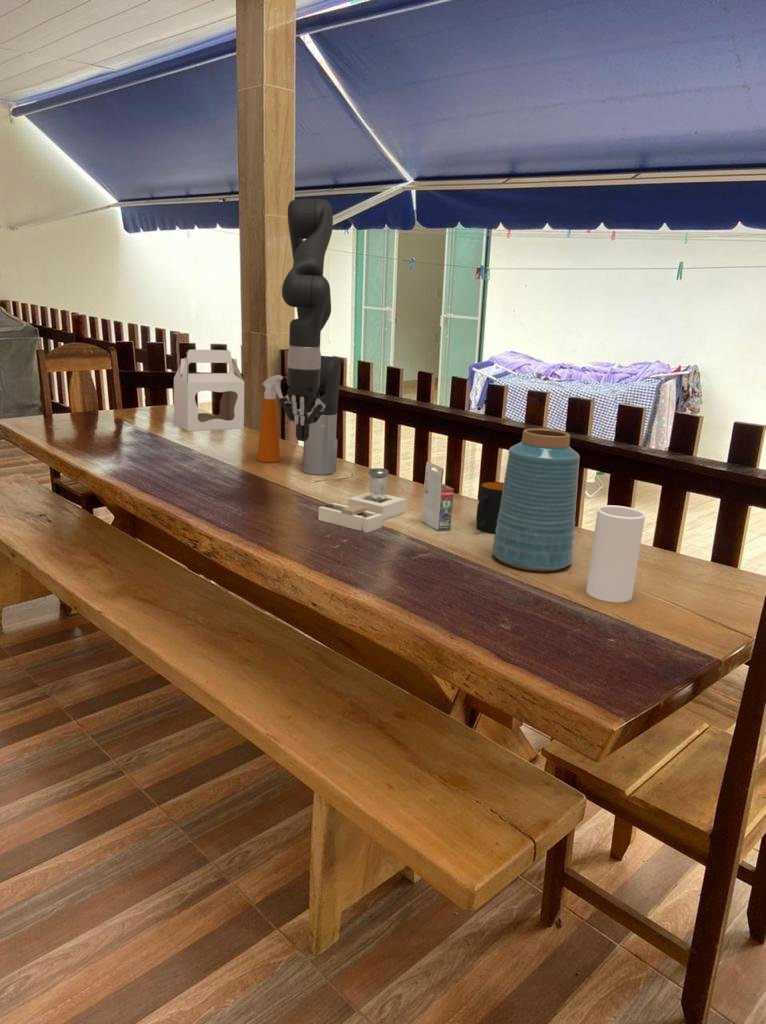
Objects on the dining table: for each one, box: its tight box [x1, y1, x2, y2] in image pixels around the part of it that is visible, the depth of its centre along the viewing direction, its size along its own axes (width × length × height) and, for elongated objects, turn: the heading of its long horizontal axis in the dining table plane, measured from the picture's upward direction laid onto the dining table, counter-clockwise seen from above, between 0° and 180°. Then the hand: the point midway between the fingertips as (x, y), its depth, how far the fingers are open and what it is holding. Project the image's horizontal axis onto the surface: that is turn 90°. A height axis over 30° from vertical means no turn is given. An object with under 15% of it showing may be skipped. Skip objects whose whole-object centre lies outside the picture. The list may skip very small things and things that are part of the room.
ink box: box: [421, 461, 455, 532], centre depth 179 cm, size 4×8×15 cm, turn 26°
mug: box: [475, 481, 504, 535], centre depth 178 cm, size 8×12×10 cm
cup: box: [585, 504, 646, 604], centre depth 142 cm, size 8×8×16 cm
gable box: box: [173, 349, 245, 432], centre depth 283 cm, size 22×13×28 cm, turn 125°
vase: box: [491, 428, 581, 573], centre depth 157 cm, size 16×16×27 cm
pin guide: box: [317, 502, 383, 534], centre depth 177 cm, size 6×14×4 cm, turn 56°
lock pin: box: [322, 503, 367, 518], centre depth 178 cm, size 3×11×3 cm, turn 56°
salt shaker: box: [368, 467, 389, 503], centre depth 186 cm, size 5×5×10 cm
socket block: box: [347, 491, 407, 522], centre depth 188 cm, size 10×10×4 cm
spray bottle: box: [256, 374, 284, 464], centre depth 233 cm, size 7×11×26 cm, turn 41°
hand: (302, 440), depth 183 cm, fingers closed
